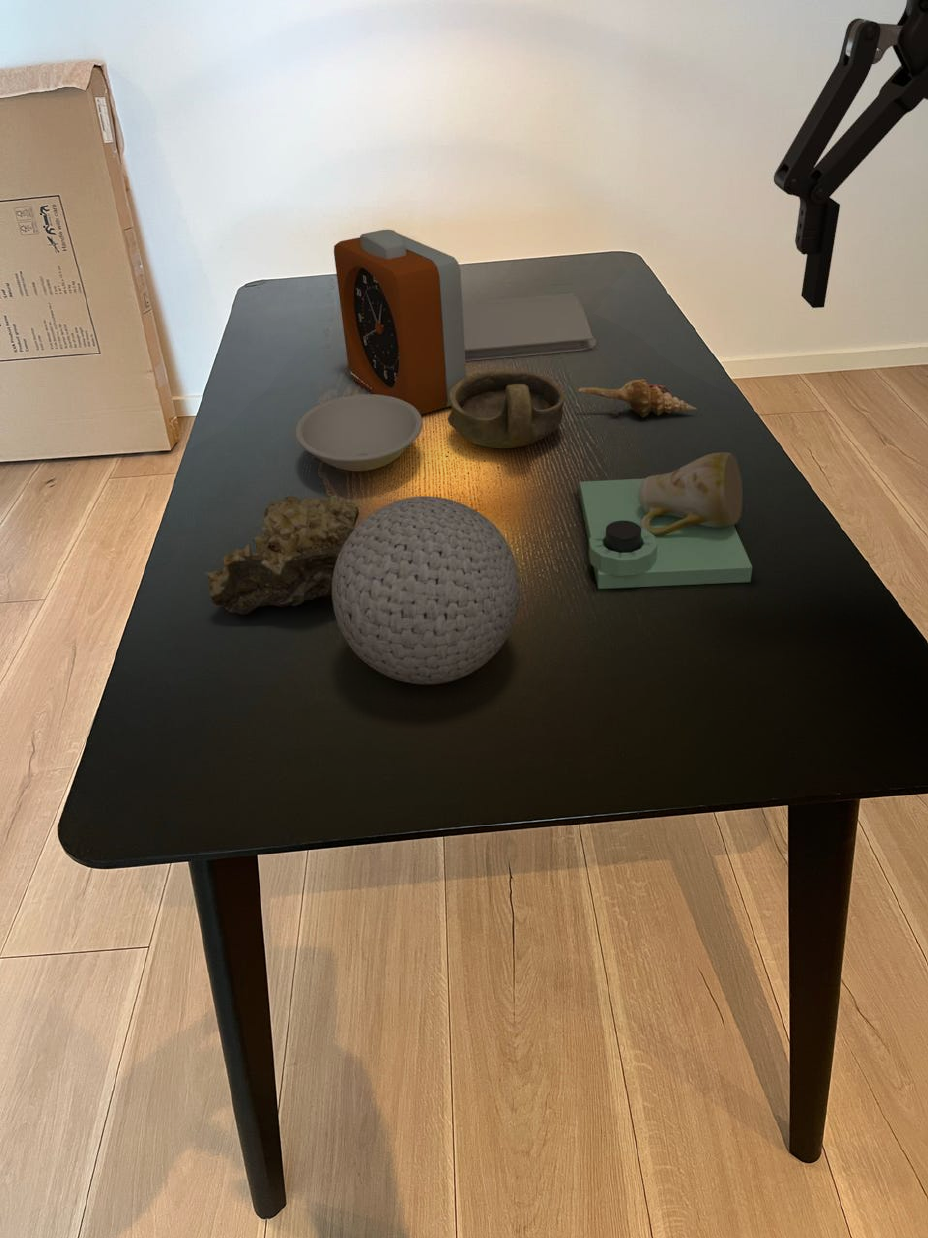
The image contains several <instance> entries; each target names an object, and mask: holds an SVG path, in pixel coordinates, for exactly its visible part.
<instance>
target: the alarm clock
mask: <svg viewBox="0 0 928 1238" xmlns="http://www.w3.org/2000/svg"><path fill="white" fill-rule="evenodd" d="M333 257H334V266H335V272H336V273H335V274H336V280H337V289H338V297H339V304H340V312H341V319H342V327H343V329H342V330H343V335H344V343H345V352H346V358H347V366H348V371H349V370H350V371H351V372H352V373H353V374H355V375H356V376H357V377H358V378H359V379H360V380H361V381H363V382H364V383H365V384H364V383H363V382H361V381H360V380H359V379H357V378H356V377H354V376H353V375H351V374H350V376H351V378H352V379H353V380H354V381H355V382H356V383H358V384H359V385H360V386H362V387H364V388H365V389H366V390H368V391H369V392H371V394H377V395H385V396H390V397H394V398H398V399H401V400H403V401H405V402H407V403H409V404H411V405H412V406H413V407H415V408H416V409H417V410H418V412H419V413H420V415H421V416H422V415H425V414H427V413H431V412H434V411H437V410H442V409H445V408H448V407H452V405H451V403H450V400H449V392H450V390H451V388H452V387H454V386H455V385H456V384H457V383H458V382H460V381H461V380H463V379H464V378H466V377H467V367H466V361H465V345H464V327H463V309H462V303H463V291H462V275H461V267H460V263H459V261H458V260H457V259H456V258H455V257H454V256H452V255H450V254H447V253H445V252H443V251H440V250H438V249H435V248H433V247H431V246H428V245H426V244H424V243H422V242H419V241H417V240H414V239H412V238H410V237H408V236H405V235H403V234H401V233H398V232H396V231H395V230H393V229H381V230H380V229H379V230H377V231H376V230H375V231H371V232H365V233H362V234H360V236H359V237H354V238H349V239H344V240H340V241H338V242H337V243H336V244H334V246H333ZM350 371H349V372H350ZM366 384H367V385H368V386H369V387H368V386H367V385H366ZM370 387H371V388H372V389H371V388H370Z"/></svg>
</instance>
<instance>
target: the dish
mask: <svg viewBox="0 0 928 1238" xmlns="http://www.w3.org/2000/svg"><path fill="white" fill-rule="evenodd" d="M423 422H424V421H423V418H422V414H421V415H420V413H419V412H418V410H417V409H416V408H415V407H413V406H412V405H411V404H409V403H407V402H405V401H403V400H401V399H398V398H394V397H390V396H385V395H377V394H374V393H361V394H360V393H359V394H350V395H344V396H340V397H336V398H335V397H334V398H332V399H329V400H326V401H324V402H322V403H319V404H318V405H315V406H314V407H312V408H310V409H309V410H307V411H306V412H305V413H304V414H303V415H302V416H301V417H300V419H299V420H298V422H297V424H296V426H295V438H296V440H297V443H298V444H299V445H300V447H302V448H303V449H304V450H305V451H307V452H308V453H310V454H312V455H314V456H315V457H316V458H318V459H319V460H320V461H322V462H324V463H325V464H327V465H329V466H332V467H334V468H337V469H339V470H343V471H348V472H366V471H371V470H376V469H379V468H381V467H384V466H387V465H388V464H390V463H392V462H393V461H395V460H396V459H398V458H399V457H400V456H401V455H402V454H404V452H405V451H406V450H407V449H408V448H409V446H410V445H412V444H413V443H414V442H415V441H416V440H417V439H418V437H419V436H420V434H421V433H422V429H423Z"/></svg>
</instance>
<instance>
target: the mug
mask: <svg viewBox="0 0 928 1238" xmlns="http://www.w3.org/2000/svg"><path fill="white" fill-rule="evenodd" d="M644 479H645V478H644ZM638 498H639V503H640V505H641V507H642V508H643V510H644V511H645V512H646V513H648V514H647V515H646V516H644V517H643V519H642V521H641V528H643V529H645V530H647V531H648V532H650V533H651V534H653V535H664V534H668V533H671V532H674V531H676V530H679V529H681V528H684V527H687V526H691V525H695V524H700V525H703V526H707V527H717V528H720V527H726V526H730V525H734V526H735V525H738V523H739V522H740V520H741V516H742V512H743V481H742V476H741V472H740V468H739V465H738V461H737V459H736V456H735V455H734V454H733V453H732V452H713V453H709V454H706V455H704V456H703V455H702V456H701V457H699V458H697V459H695V460H693V461H691V462H689V463H687V464H685V465H683V466H682V467H679V468H678V469H676V470H673V471H671V472H666V473H662V474H653V475H649V476H647V477H646V479H645V480H644V481H643V482H642V483H641V485H640V487H639V491H638ZM660 515H671V516H676V517H680V518H683V519H682V520H680V521H678V522H675V523H673V524H671V525H669V526H666V527H661V528H654V527H651V526H650V522H651V520H652V518H654V517H656V516H660Z"/></svg>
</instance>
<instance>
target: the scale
mask: <svg viewBox="0 0 928 1238" xmlns="http://www.w3.org/2000/svg"><path fill="white" fill-rule="evenodd" d="M646 478H647V477H646ZM646 478H630V479H629V478H627V479H625V478H624V479H607V480H605V479H604V480H587V481H579V482H578V497H579V502H580V507H581V512H582V516H583V522H584V527H585V531H586V536H587V541H588V560H589V563H590V565H591V566H592V567H593V571H594V576H595V581H596V586H597V590H605V589H606V590H610V589H628V588H629V589H630V588H631V589H632V588H651V587H653V588H654V587H671V586H673V587H674V586H695V585H696V586H697V585H715V584H716V585H718V584H738V583H740V584H741V583H751V582H752V581H751V580H752V574H753V565H752V563H751V560H750V559H749V556H748V554H747V551H746V549H745V547H744V545H743V542H742V540H741V538H740V535H739V533H738V532H737V529H736V527H735V524H734V525H730V526H726V527H720V528H717V527H707V526H703V525H700V524H695V525H691V526H687V527H684V528H681V529H679V530H676V531H674V532H671V533H668V534H664V535H653V534H651V533H650V532H648V531H647V530H645V529H643V528H641V544H640V548H639V550H636V551H634V552H629V553H619V552H615V551H610V550H608V549H607V548H606V546H605V540H606V527H607V526H608V525H609V524H610V523H612V522H615V521H631V522H634V523H636V524H638V525H639V526H640V527H641V521H642V519H643V517H644V516H646V515H647V514H648V513H646V512H645V511H644V510H643V508H642V507H641V505H640V503H639V498H638V491H639V487H640V485H641V483H642V482H643V481H644V480H645V479H646ZM682 519H683V518H680V517H676V516H671V515H660V516H656V517H654V518H652V520H651V522H650V526H651V527H654V528H661V527H666V526H669V525H671V524H673V523H675V522H678V521H680V520H682Z"/></svg>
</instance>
